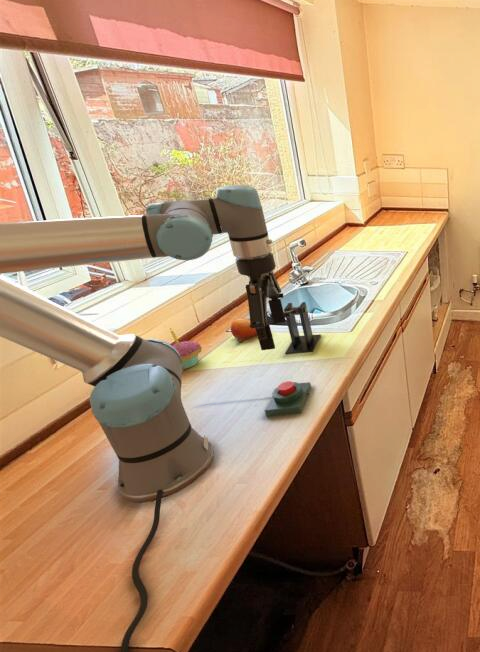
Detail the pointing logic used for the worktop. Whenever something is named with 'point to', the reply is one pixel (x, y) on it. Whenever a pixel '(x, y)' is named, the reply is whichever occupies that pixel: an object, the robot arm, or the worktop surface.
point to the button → (286, 388)
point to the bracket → (298, 342)
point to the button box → (288, 401)
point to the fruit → (242, 329)
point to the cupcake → (187, 351)
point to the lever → (290, 312)
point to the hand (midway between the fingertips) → (274, 334)
